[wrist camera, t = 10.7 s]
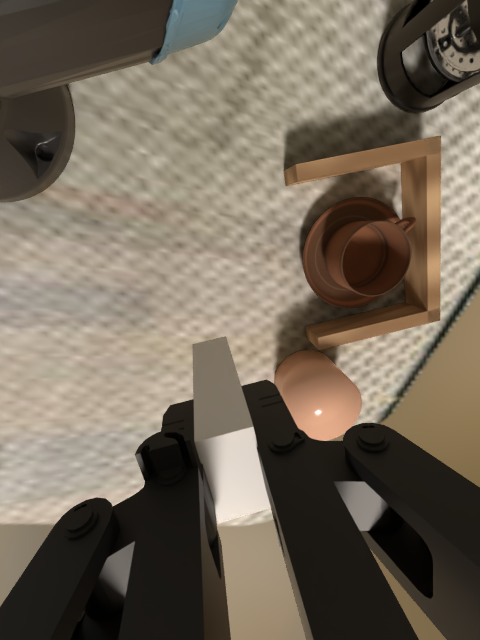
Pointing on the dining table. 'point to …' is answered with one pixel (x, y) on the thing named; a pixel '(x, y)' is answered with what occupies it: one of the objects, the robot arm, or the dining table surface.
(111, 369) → the dining table surface
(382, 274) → the cup and saucer
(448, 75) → the french press
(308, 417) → the peach rounded capsule
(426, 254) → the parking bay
